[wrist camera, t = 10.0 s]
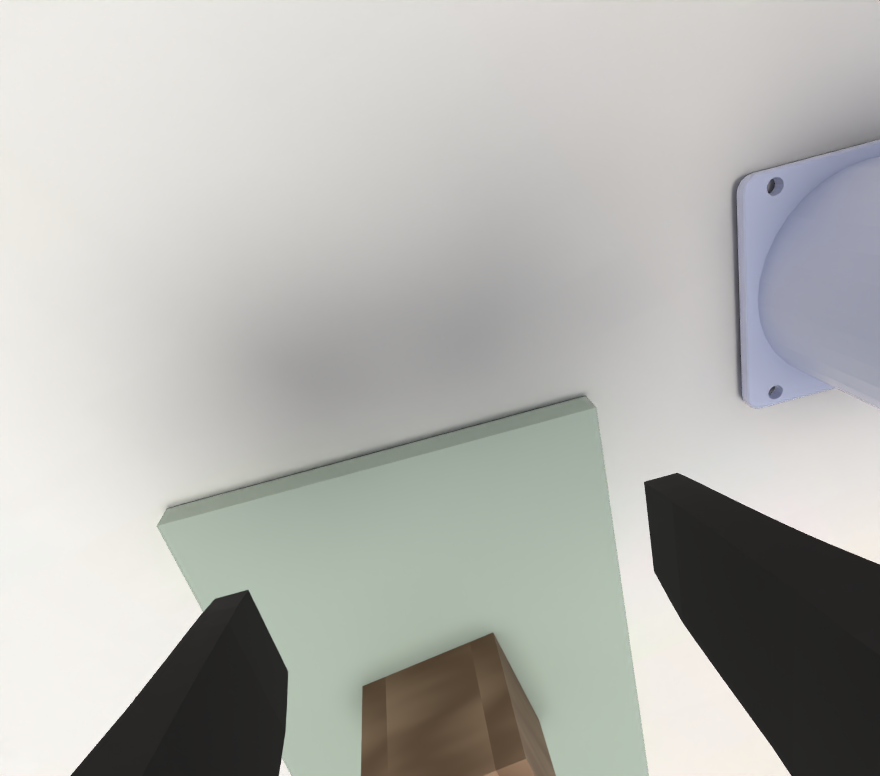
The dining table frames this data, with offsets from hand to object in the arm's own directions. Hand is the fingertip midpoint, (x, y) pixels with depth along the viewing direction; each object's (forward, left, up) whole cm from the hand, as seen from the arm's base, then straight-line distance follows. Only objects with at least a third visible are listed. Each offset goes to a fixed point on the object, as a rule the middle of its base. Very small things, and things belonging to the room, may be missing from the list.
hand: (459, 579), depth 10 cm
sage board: (+2, +12, -9) cm, 15 cm away
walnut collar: (+2, +14, -8) cm, 16 cm away
